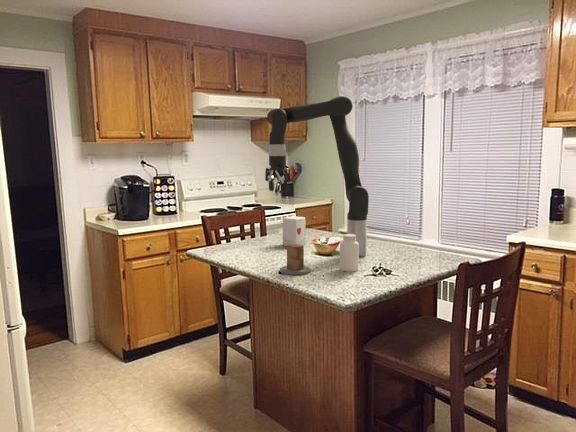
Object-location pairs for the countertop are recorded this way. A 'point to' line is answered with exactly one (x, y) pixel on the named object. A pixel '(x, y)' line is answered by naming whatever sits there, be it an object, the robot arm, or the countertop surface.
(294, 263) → the walnut block
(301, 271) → the disc
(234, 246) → the countertop surface
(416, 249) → the countertop surface
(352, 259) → the pill bottle
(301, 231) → the supplement box
